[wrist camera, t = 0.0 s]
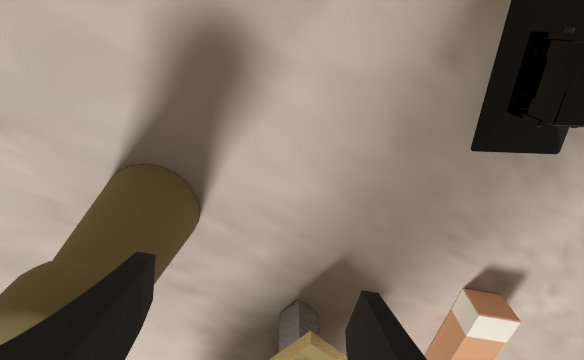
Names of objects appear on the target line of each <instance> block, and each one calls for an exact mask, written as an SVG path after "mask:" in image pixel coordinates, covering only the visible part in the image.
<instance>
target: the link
mask: <svg viewBox="0 0 584 360" xmlns="http://www.w3.org/2000/svg"><path fill="white" fill-rule="evenodd" d="M519 324H520V320H519V318H518V317H517V316H516V314H515V313H514V312H513V310H512V309H511V308H510V306H509V305H508V304H507V302H506V301H505V300H504V298H503V297H502V296H501V295H498V294H492V293H487V292H481V291H476V290H470V289H464V288H463V289H462V291H461V293H460V295H459V296H458V298H457V300H456V302H455V303H454V305H453V307H452V308H451V311H450V312H449V314H448V316H447V318H446V319H445V321H444V323H443V325H442V326H441V328H440V330H439V332H438V333H437V335H436V337H435V338H434V340H433V342H432V344H431V345H430V347H429V349H428V351H427V352H426V354H425V357H426V359H427V360H493V359H494V358H495V357H496V355H497V354H498V352H499V351H500V349H501V348H502V347H503V345H504V344H505V343H506V342H507V341H508V340H509V338H510V337H511V335H512V334H513V333H514V331H515V330H516V328H517V327H518V326H519Z"/></svg>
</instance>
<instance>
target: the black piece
mask: <svg viewBox="0 0 584 360" xmlns="http://www.w3.org/2000/svg"><path fill="white" fill-rule="evenodd" d="M569 127H571V128H578V127H584V0H511V4H510V7H509V11H508V15H507V18H506V22H505V26H504V29H503V33H502V36H501V40H500V44H499V47H498V51H497V55H496V58H495V62H494V66H493V69H492V73H491V77H490V80H489V84H488V87H487V91H486V95H485V98H484V102H483V106H482V109H481V113H480V117H479V120H478V124H477V127H476V131H475V135H474V138H473V142H472V146H471V150H472V151H482V152H510V153H538V154H558V153H559V152H560V150H561V147H562V145H563V142H564V140H565V137H566V134H567V132H568V129H569Z"/></svg>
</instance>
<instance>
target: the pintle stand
mask: <svg viewBox="0 0 584 360" xmlns="http://www.w3.org/2000/svg"><path fill="white" fill-rule="evenodd" d="M269 360H347V356H345V355H344V354H342V353H341V352H340V351H338V350H337V349H335V348H334V347H333V346H331V345H330V344H329V343H327V342H326V341H324V340H323V339H322V338H320V337H319V330H318V318H317V313H316V312H315V311H313V310H312V309H311V308H309V307H308V306H307V305H305V304H304V303H303V302H301V301H300V300H297V301H296V302H295V303H293V304H292V305H291V306H289V307H288V308H287V309H285V310H284V311H283V312H281V313H280V326H279V353H278V354H277V355H275V356H274V357H272V358H271V359H269Z"/></svg>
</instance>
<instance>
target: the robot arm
mask: <svg viewBox="0 0 584 360" xmlns="http://www.w3.org/2000/svg"><path fill="white" fill-rule="evenodd" d="M155 258H156V255H154V254H149V253H143V252H136V253H134V254H133V255H131V256H130V257H129V258H128V259H126V260H125V261H124V262H123V263H122V264H120V265H119V266H118V267H117V268H115V269H114V270H113V271H112V272H110V273H109V274H108V275H106V276H105V277H104V278H103V279H101V280H100V281H99V282H97V283H96V284H95V285H93V286H92V287H91V288H89V289H88V290H87V291H85V292H84V293H83V294H81V295H80V296H78V297H77V298H75V299H74V300H73V301H71V302H70V303H68V304H67V305H65V306H64V307H62V308H61V309H59V310H58V311H56V312H55V313H53V314H52V315H50V316H49V317H47V318H46V319H44V320H42V321H41V322H39V323H38V324H36V325H34V326H33V327H31V328H29V329H28V330H26V331H24V332H23V333H21V334H19V335H18V336H16V337H14V338H12V339H11V340H9V341H7V342H5V343H3V344H1V345H0V360H125V358H126V357H127V355H128V353H129V351H130V349H131V347H132V345H133V344H134V342H135V340H136V338H137V336H138V334H139V332H140V330H141V328H142V326H143V323H144V321H145V318H146V316H147V313H148V311H149V308H150V306H151V303H152V301H153V289H154V273H155ZM345 332H346V350H347V360H427V359H426V357H425V356H424V355H423V354H422V352H421V351H420V350H419V348H418V347H417V346H416V344H415V343H414V342H413V341H412V339H411V338H410V336H409V335H408V334H407V332H406V331H405V330H404V328H403V327H402V326H401V324H400V323H399V321H398V320H397V318H396V317H395V316H394V314H393V313H392V311H391V310H390V309H389V307H388V306H387V304H386V303H385V302H384V300H383V299H382V297H381V296H380V295H379V293H375V292H369V291H363V290H362V291H361V294H360V296H359V299H358V301H357V304H356V306H355V309H354V311H353V313H352V316H351V318H350V321H349V323H348V326H347V328H346V330H345Z"/></svg>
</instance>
